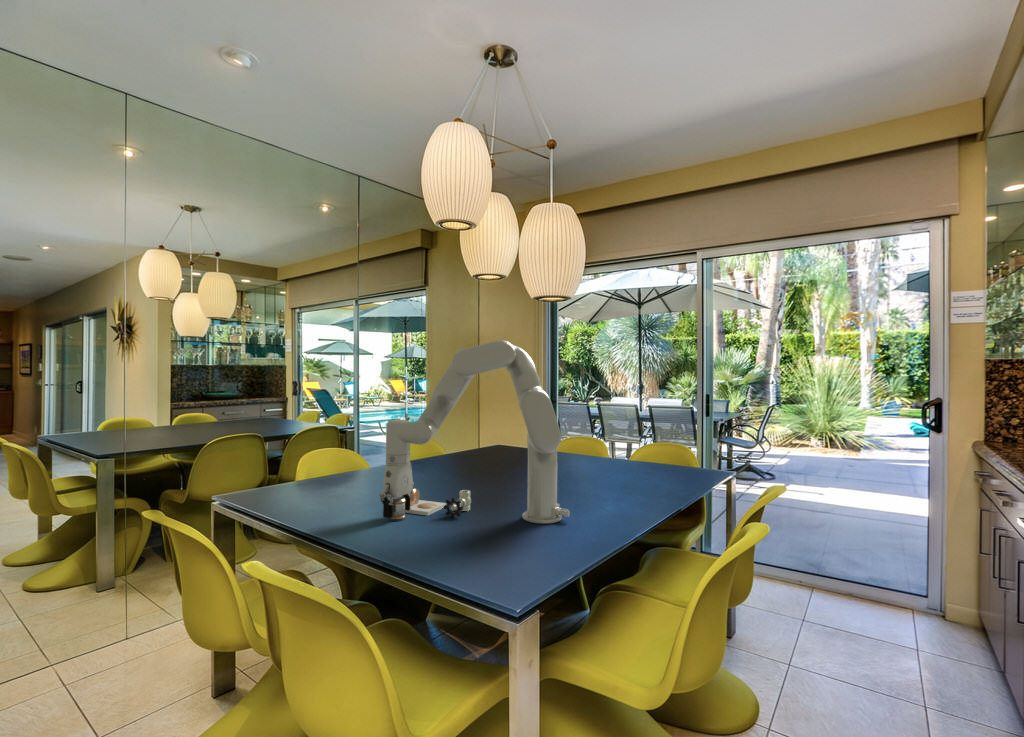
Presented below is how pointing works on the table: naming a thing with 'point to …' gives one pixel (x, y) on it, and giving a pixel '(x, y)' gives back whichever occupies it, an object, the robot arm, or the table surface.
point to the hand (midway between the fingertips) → (397, 513)
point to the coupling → (398, 509)
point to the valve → (459, 503)
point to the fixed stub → (414, 497)
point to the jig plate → (425, 507)
